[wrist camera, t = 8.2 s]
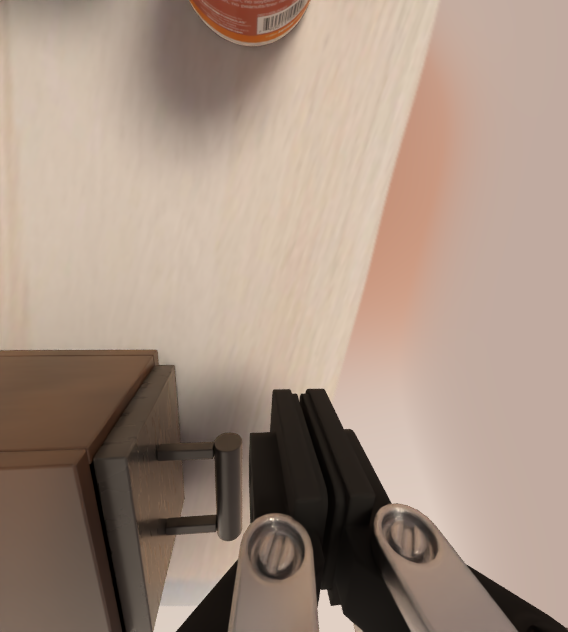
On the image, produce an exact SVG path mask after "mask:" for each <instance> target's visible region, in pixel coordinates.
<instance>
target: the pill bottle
mask: <svg viewBox="0 0 568 632" xmlns="http://www.w3.org/2000/svg"><path fill="white" fill-rule="evenodd" d="M189 2H190V4H191V5H192V7H193V9H194V10H195V11H196V13H197V14H198V16H199V17H200V18H201V19H202V21H203V22H204V23H205V24H206V25H207V26H208V27H209V28H210V29H211V30H213V31H214V32H215V33H216V34H218V35H219V36H221V37H223V38H224V39H226V40H228V41H230V42H233V43H236V44H239V45H244V46H262V45H266V44H270V43H273V42H275V41H277V40H279V39H280V38H282V37H284V36H285V35H286V34H287V33H289V32H290V31H291V30H292V29H293V28H294V27H295V26H296V25H297V23H298V22H299V21H300V19H301V18H302V16H303V15H304V13H305V11H306V9H307V7H308V5H309V2H310V0H189Z"/></svg>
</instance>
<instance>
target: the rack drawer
mask: <svg viewBox="0 0 568 632" xmlns="http://www.w3.org/2000/svg"><path fill="white" fill-rule="evenodd" d="M213 458H214V460H215V488H216V515H204V516H189V517H180V516H181V512H182V508H183V503H184V499H185V494H184V481H183V468H182V460H198V459H213ZM89 466H90V471H91V476H92V481H93V486H94V491H95V496H96V501H97V506H98V512H99V517H100V522H101V527H102V532H103V537H104V542H105V547H106V552H107V557H108V562H109V567H110V572H111V577H112V582H113V579H114V577H115V579H116V584H117V589H118V594H119V599H120V605H121V610H122V615H123V620H124V625H125V631H126V632H153V630H154V626H155V621H156V617H157V613H158V609H159V605H160V600H161V596H162V592H163V588H164V584H165V579H166V575H167V571H168V567H169V562H170V558H171V554H172V550H173V546H174V541H175V537H176V535H181V534H195V533H208V532H216V531H217V534H218V536H219V537H220V538H221V539H222V540H224V541H232V540H234V539H236V538H237V537H238V536H239V535H240V533H241V531H242V438H241V437H240V436H239V435H238V434H236V433H231V432H229V433H223V434H221V435H219V436H218V437H217V438H216V439H215V441H214V442H195V443H181V442H180V429H179V417H178V404H177V391H176V378H175V366H174V365H158V366H154V367H153V368H152V370H151V371H150V373H149V374H148V376H147V377H146V379H145V380H144V382H143V383H142V385H141V386H140V388H139V389H138V391H137V392H136V394H135V396H134V397H133V399H132V400H131V402H130V403H129V405H128V406H127V408H126V409H125V411H124V412H123V414H122V415H121V417H120V418H119V420H118V421H117V423H116V424H115V426H114V427H113V429H112V430H111V432H110V433H109V435H108V436H107V438H106V440H105V441H104V443H103V444H102V446H101V447H100V449H99V450H98V452H97V453H96V455H95V456H94V458H93V461H92V463H91V464H89Z"/></svg>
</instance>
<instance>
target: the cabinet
mask: <svg viewBox="0 0 568 632" xmlns="http://www.w3.org/2000/svg"><path fill="white" fill-rule="evenodd" d="M158 365H159V364H158V353H157V350H10V351H0V632H126V631H125V625H124V620H123V615H122V610H121V605H120V599H119V594H118V589H117V584H116V579H115V577H114V579H113V582H112V577H111V572H110V567H109V562H108V557H107V552H106V547H105V542H104V537H103V532H102V527H101V522H100V517H99V512H98V506H97V501H96V496H95V491H94V486H93V481H92V476H91V471H90V466H89V464H91V463H92V461H93V458H94V456H95V455H96V453H97V452H98V450H99V449H100V447H101V446H102V444H103V443H104V441H105V440H106V438H107V436H108V435H109V433H110V432H111V430H112V429H113V427H114V426H115V424H116V423H117V421H118V420H119V418H120V417H121V415H122V414H123V412H124V411H125V409H126V408H127V406H128V405H129V403H130V402H131V400H132V399H133V397H134V396H135V394H136V392H137V391H138V389H139V388H140V386H141V385H142V383H143V382H144V380H145V379H146V377H147V376H148V374H149V373H150V371H151V370H152V368H153V367H154V366H158Z"/></svg>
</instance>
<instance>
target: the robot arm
mask: <svg viewBox="0 0 568 632" xmlns="http://www.w3.org/2000/svg"><path fill="white" fill-rule="evenodd" d="M249 494H250V525H249V527H248V528H247V530H246V531H245V533H244V534H243V538H242V541H241V545H240V551H239V558H238V560H237V561H236V562H235V563H234V565H233V566H232V567H231V568H230V569H229V570H228V572H227V573H226V574H225V575H224V576H223V577H222V579H221V580H220V581H219V582H218V583H217V584H216V586H215V587H214V588H213V589H212V590H211V591H210V593H209V594H208V595H207V596H206V597H205V598H204V600H203V601H202V602H201V603H200V604H199V605H198V607H197V608H196V609H195V610H194V611H193V612H192V614H191V615H190V616H189V617H188V618H187V620H186V621H185V622H184V623H183V624H182V625H181V627H180V628H179V629H178V630H177V631H176V632H319V625H318V612H317V607H318V601H319V594H320V589H321V590H325V589H327V590H328V595H329V600H330V604H331V606H334V605H341V606H342V610H343V614H344V615H345V616H346V617H348V618H349V619H350V620H351V621H352V622H353V623H354V629H355V632H568V628H565V627H564V626H563V625H561V624H560V623H558V622H557V621H556V620H554V619H553V618H552V617H550V616H549V615H547V614H545V613H544V612H542V611H541V610H539V609H537V608H536V607H534V606H533V605H531V604H529V603H528V602H526V601H525V600H523V599H521V598H519V597H518V596H516V595H515V594H513V593H511V592H510V591H508V590H507V589H505V588H504V587H502V586H500V585H499V584H497V583H495V582H494V581H492V580H491V579H489V578H487V577H486V576H484V575H483V574H481V573H479V572H478V571H476V570H474V569H473V568H471V567H470V566H468V565H466V564H465V563H464V561H463V560H462V559H461V557H460V556H459V555H458V554H457V552H456V551H455V550H454V548H453V547H452V546H451V545H450V543H449V542H448V541H447V539H446V538H445V537H444V536H443V534H442V533H441V532H440V530H439V529H438V528H437V527H436V526H435V525H434V523H433V522H432V521H431V520H430V519H429V518H428V517H427V516H425V515H424V514H422V513H421V512H420V511H418V510H416V509H414V508H412V507H410V506H407V505H403V504H392V503H391V502H390V500H389V498H388V496H387V494H386V492H385V490H384V488H383V486H382V484H381V483H380V481H379V479H378V477H377V475H376V473H375V471H374V469H373V467H372V465H371V463H370V461H369V459H368V458H367V456H366V454H365V452H364V450H363V448H362V446H361V444H360V442H359V440H358V439H357V436H356V435H355V433H354V432H353V430H351V429H343V427H342V424H341V422H340V420H339V418H338V416H337V414H336V412H335V410H334V408H333V406H332V404H331V402H330V400H329V397H328V395H327V393H326V391H325V390H324V389H307V390H306V394H301V395H300V402H299V399H298V396H297V394H292V393H291V390H290V389H282V390H273V394H272V409H271V425H270V432H265V433H250V445H249Z"/></svg>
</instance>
